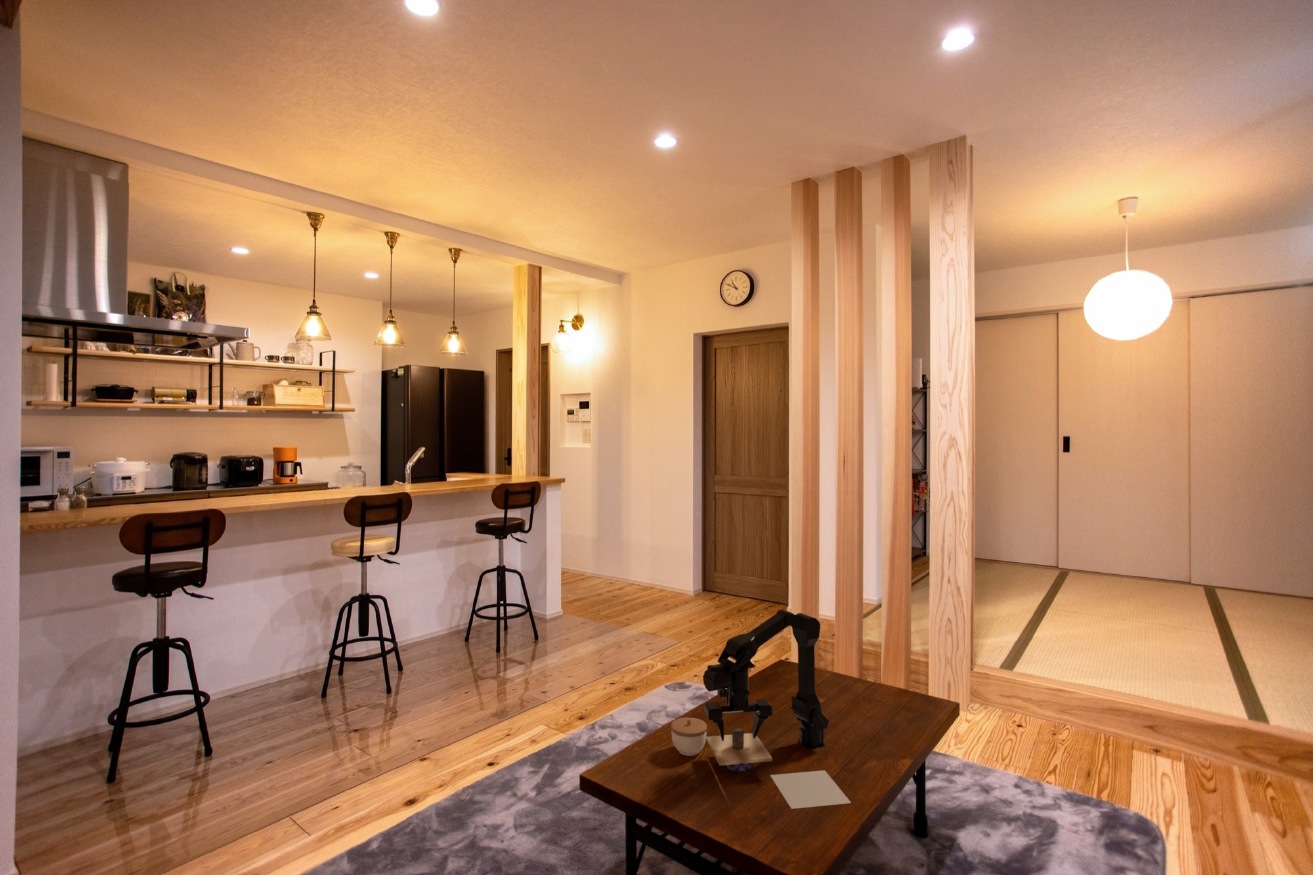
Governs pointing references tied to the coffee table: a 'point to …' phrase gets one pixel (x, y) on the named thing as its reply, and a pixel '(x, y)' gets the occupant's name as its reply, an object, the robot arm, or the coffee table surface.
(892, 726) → the coffee table surface
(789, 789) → the mat
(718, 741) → the lid
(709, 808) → the coffee table surface
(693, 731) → the lidded jar
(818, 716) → the robot arm
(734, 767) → the purple round dome
